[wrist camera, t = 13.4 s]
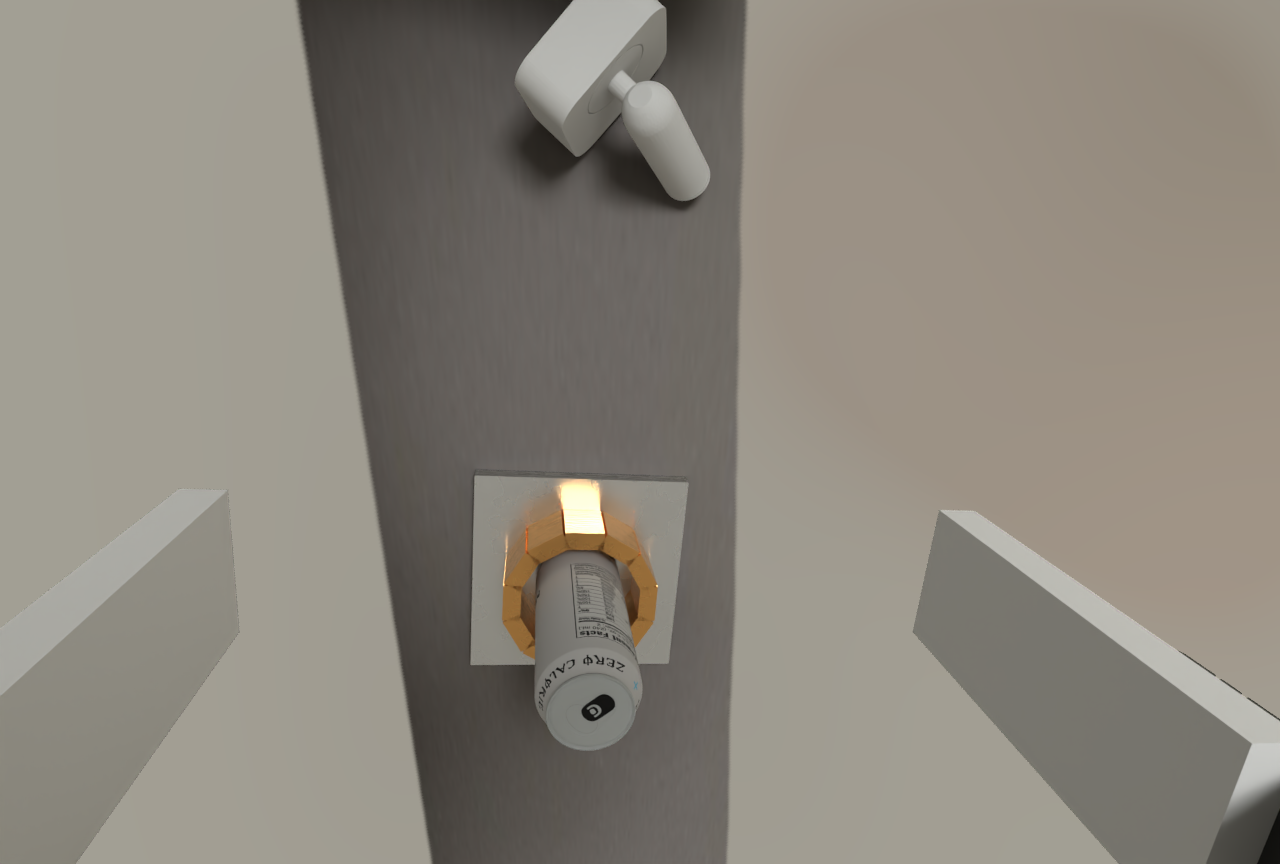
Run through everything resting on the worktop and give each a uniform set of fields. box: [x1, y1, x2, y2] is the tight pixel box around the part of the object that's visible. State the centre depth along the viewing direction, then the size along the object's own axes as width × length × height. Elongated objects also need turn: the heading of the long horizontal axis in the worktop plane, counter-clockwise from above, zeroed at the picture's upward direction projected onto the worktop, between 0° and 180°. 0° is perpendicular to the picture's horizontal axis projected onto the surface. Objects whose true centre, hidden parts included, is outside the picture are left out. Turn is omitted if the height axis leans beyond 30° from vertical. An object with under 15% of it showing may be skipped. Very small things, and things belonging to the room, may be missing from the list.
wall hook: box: [515, 0, 710, 201], centre depth 42 cm, size 8×10×10 cm
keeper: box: [470, 470, 689, 665], centre depth 52 cm, size 15×15×5 cm
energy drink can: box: [534, 550, 643, 751], centre depth 46 cm, size 6×6×15 cm
